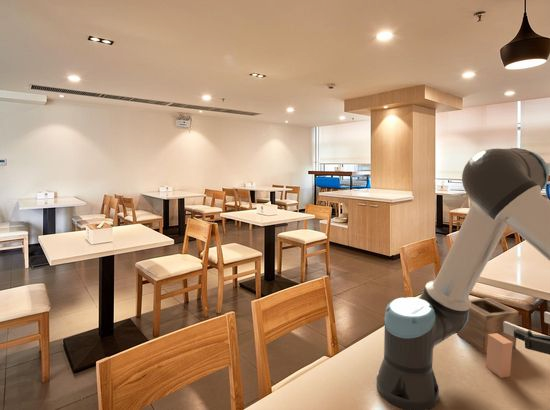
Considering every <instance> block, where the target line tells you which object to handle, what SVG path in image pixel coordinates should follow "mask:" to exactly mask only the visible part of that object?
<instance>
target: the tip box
mask: <svg viewBox="0 0 550 410" xmlns="http://www.w3.org/2000/svg"><path fill="white" fill-rule="evenodd" d="M469 300H470V302H471V307H470V309H469V318H468V321H467V323H466V325H465V326H464V328H463V329H462V330H461V331H459V332H458V333H456V335H457V336H458V337H459V338H461V339H462V340H463V341H465V342H466V343H468V344H469V345H471V346H472V347H474V348H475V349H476V350H478V351H479V352H481V353H487V344H488V334H494V333H498V334H500V335H501V336H503V337H505V338H506V339H508V340H510V341H511V342H513V346H512V349H517V347H516V346H517V338H515V337H513V336H511V335H509V334H506V333H504V326H503V322H504V321H506V322H509V323H511V324H514V325H516V326H518V322H519V311H517V310H515V309H513V308H512V307H509V306H507V305H505V304H503V303H501V302H500V301H497V300H495V299H492V297H491V298H490V297H486V298H485V297H484V298H476V299H474V298H473V299H469Z"/></svg>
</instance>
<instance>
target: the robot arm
mask: <svg viewBox="0 0 550 410" xmlns="http://www.w3.org/2000/svg"><path fill="white" fill-rule="evenodd" d="M549 178H550V170H549V167H548V165H547V163H546V161H545V159H544V158H542V157H541V156H540V155H539V154H538V153H535V152H533V151H532V150H528V149H526V148H525V149H524V148H519V147H511V148H488V149H486V150H485V149H484V150H481V151H480V152H478V153H476V154H475V155H473V156H472V157H470V159H469V160H468V161H467V162H466V164H465V165H464V168H463V170H462V173H461V181H462V186H463V189H464V191H465V192H466V194H467V197H468V199H469V201H470V203H471V204H470V207H469V209H468V211H467V214H466V216H465V217H464V220H463V221H462V223H461V226H460V229H458V232H457V235H456V236H455V239H454V241H453V242H452V244H451V246H450V249H449V251H448V253H447V255H446V257H445V259H444V261H443V263H442V265H441V268H440V270H439V272H438V273H437V276H436V277H435V280H430V281H427V282H426V284H425V286H424V289H423V290H422V292H421V294H420V296H419V297H413V296H406V297H403V296H402V297H398V298H395V299H392V300H391V301H390V302H389V303H388V304H387V305H386V307H385V313H384V318H383V323H384V341H383V343H384V344H383V346H384V347H383V349H384V350H383V360H382V361H381V364H380V367H379V369H378V371H377V373H376V374H377V375H376V383H375V384H376V389H377V391H378V394H380V396H381V397H382V398H383V399H384V400H386V401H387V402H388V403H390V404H392V405H393V406H396V407H398V408H400V409H404V410H431V409H432V408H434V407H435V406H436V405H438V403H439V396H440V387H439V385H438V381H437V377H436V375H435V371H434V369H433V361H434V348H435V347H436V346H438V345H439V344H440V343H442V342H444V341H445V340H447V339H448V338H450V337H452V336H453V335H457V333H458V332H459V331H461V330H462V329H463V328H464V326H465V325H466V323H467V321H468V318H469V309H470V307H471V302H470V300H471V299H470V298H469V296H470V294H471V292H472V291H473V289H474V288H475V286H476V283H477V282H478V280H479V278H480V276H481V275H482V274H483V273H482V272H483V271H484V269H485V267H486V265H488V261H489V260H490V258H491V257H492V255H493V253H494V252H495V249H496V247H497V246H498V244H499V242H500V241H501V239H502V237H503V235H504V233H505V232H506V229H507V228H508V227H510V228H511V229H513V231H515V232H516V233H517V235H519V236H520V237H521V238H523V240H525V241H526V242H527V243H528V244H529V245H531V246H532V247H533V248H534V250H536V251H538V252H539V253H540V254H541V255H542V256H543V257H544V258H545V259H547V260H548V261H549V262H550V200H548V199H547V198H546V197H545V196H544V195H542V193H541V192H542V191H543V190H544V188H545V187H546V186H547V184H548V181H549ZM543 318H544V323H546V324H547V325H550V312H549V311H544V312H543ZM503 326H504V333H506V334H509V335H511V336H513V337H515V338H516V339H517V340H521V341H523V342H524V348H525V349H526V350H530V351H533V352H538V353H541V354H546V355H550V336H549V335H548V336H547V335H541V334H535V333H533V331H532V330H529V329H526V328H524V327H522V326H518V325H517V326H516V325H514V324H511V323H509V322H506V321H504V322H503Z"/></svg>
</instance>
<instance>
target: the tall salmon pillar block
mask: <svg viewBox="0 0 550 410" xmlns="http://www.w3.org/2000/svg"><path fill="white" fill-rule="evenodd" d="M512 346H513V342H511V341H510V340H508V339H506V338H505V337H503V336H501V335H500V334H498V333H494V334H488V344H487V352H486V359H485V360H486V361H485V368H487V369H488V370H489V371H491V372H492V373H493V374H495V375H496V376H497V377H499V378H500V379H502V378H508V377H511V369H512V357H513V348H512Z"/></svg>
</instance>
